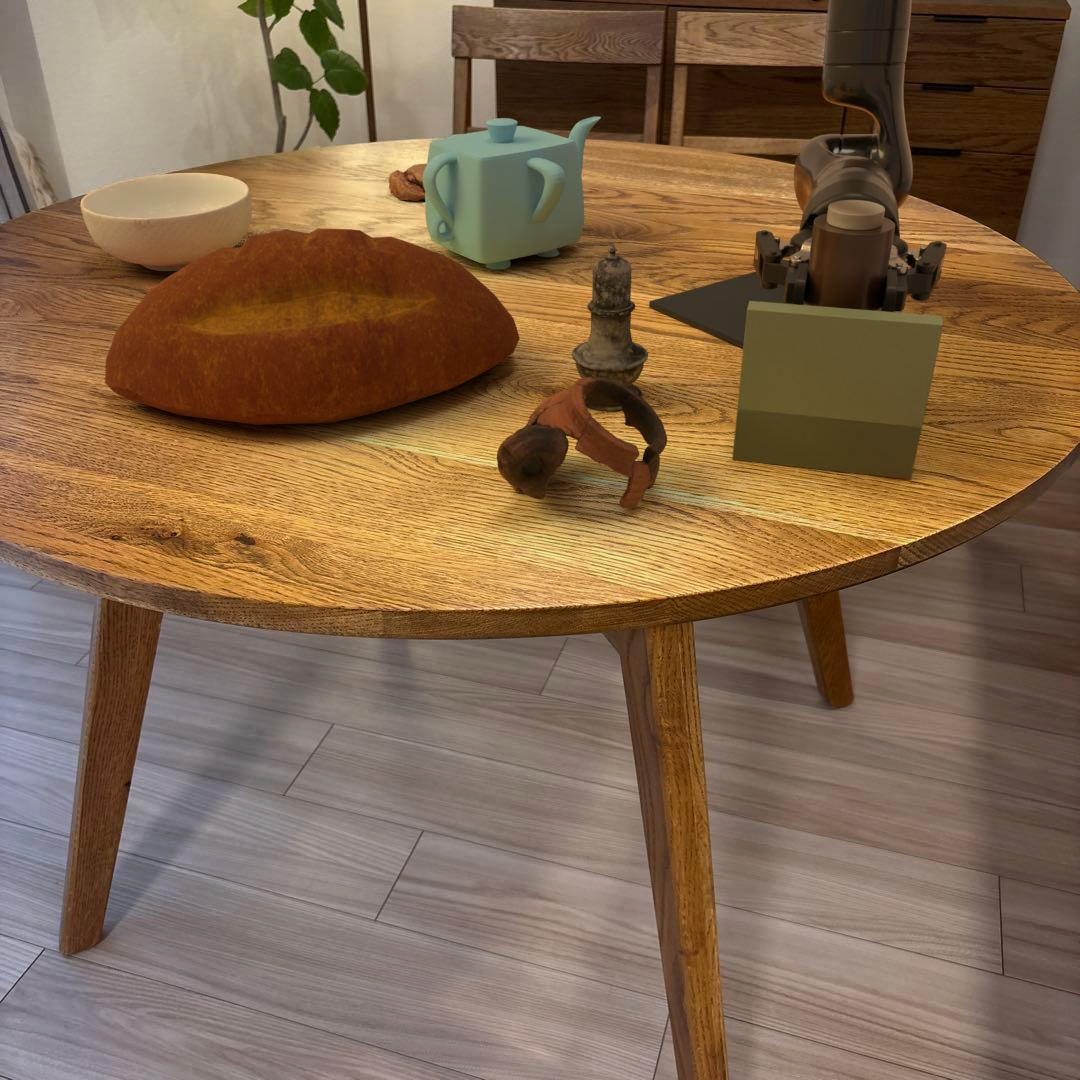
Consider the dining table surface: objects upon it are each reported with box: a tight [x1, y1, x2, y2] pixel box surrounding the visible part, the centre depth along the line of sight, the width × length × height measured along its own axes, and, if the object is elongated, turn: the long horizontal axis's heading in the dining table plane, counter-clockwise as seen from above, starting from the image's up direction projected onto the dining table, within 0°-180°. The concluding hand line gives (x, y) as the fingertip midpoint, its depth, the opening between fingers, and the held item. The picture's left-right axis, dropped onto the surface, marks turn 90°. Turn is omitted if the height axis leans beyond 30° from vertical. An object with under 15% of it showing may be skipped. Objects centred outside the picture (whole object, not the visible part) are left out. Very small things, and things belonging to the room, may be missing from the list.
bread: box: [104, 228, 521, 426], centre depth 81 cm, size 21×33×12 cm, turn 100°
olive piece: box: [731, 301, 944, 480], centre depth 73 cm, size 12×12×11 cm
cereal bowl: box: [80, 172, 253, 272], centre depth 109 cm, size 17×17×7 cm
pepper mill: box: [803, 200, 895, 311], centre depth 71 cm, size 5×5×12 cm
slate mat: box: [648, 271, 793, 349], centre depth 96 cm, size 16×16×1 cm
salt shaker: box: [571, 244, 649, 412], centre depth 78 cm, size 6×6×12 cm
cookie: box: [388, 163, 427, 202], centre depth 132 cm, size 10×11×3 cm
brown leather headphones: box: [496, 376, 668, 510], centre depth 68 cm, size 12×10×8 cm
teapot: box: [423, 116, 602, 271], centre depth 109 cm, size 18×16×14 cm
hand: (844, 299), depth 69 cm, fingers closed on pepper mill, 5 cm apart
